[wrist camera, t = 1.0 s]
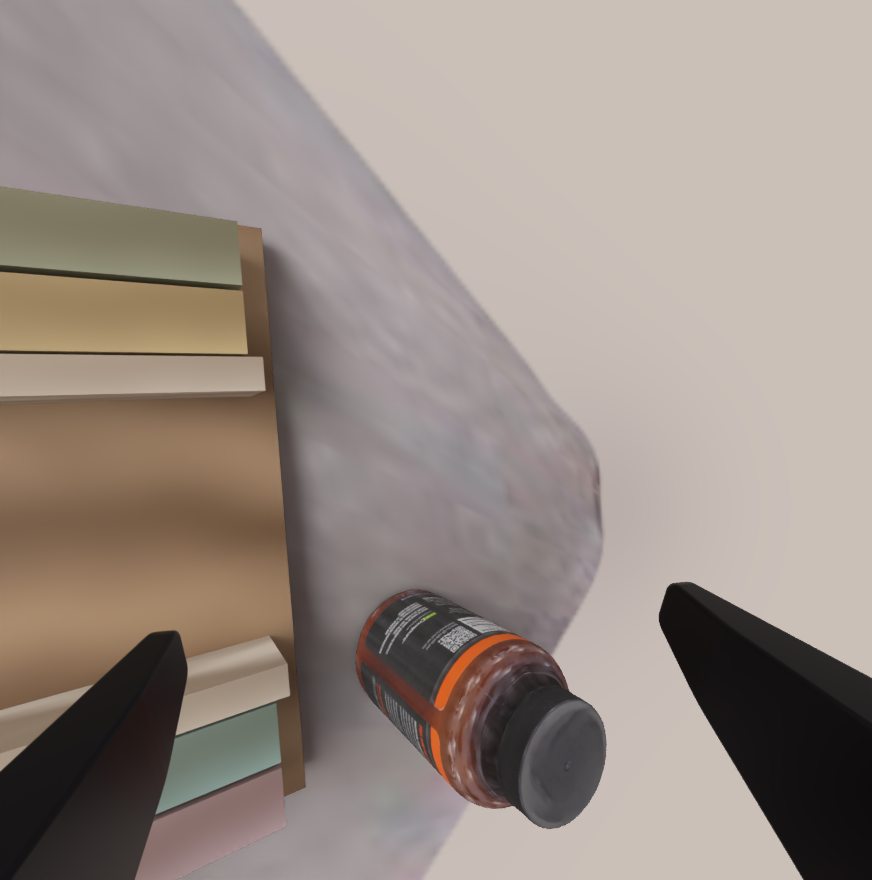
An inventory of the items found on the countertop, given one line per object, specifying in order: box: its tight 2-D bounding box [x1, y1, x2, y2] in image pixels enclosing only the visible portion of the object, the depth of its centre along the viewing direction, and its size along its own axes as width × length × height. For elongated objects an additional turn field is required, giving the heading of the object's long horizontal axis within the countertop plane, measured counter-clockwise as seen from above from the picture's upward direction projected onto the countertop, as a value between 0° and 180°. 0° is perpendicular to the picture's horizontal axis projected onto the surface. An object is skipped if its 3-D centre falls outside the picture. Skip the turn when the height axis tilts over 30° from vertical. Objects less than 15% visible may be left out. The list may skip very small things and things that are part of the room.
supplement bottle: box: [356, 590, 606, 829], centre depth 20 cm, size 6×6×11 cm
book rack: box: [0, 187, 306, 880], centre depth 17 cm, size 24×12×4 cm, turn 4°
